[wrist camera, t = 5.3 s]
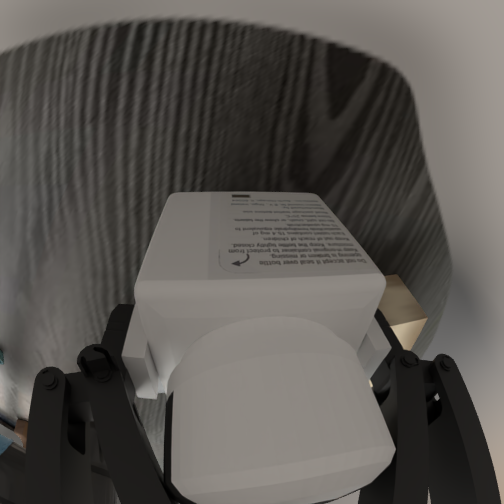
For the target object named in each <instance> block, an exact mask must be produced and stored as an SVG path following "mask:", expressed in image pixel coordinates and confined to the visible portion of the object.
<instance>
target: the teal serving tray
mask: <svg viewBox="0 0 504 504" xmlns="http://www.w3.org/2000/svg"><path fill="white" fill-rule="evenodd" d="M0 364H4V357H3V352H2V351H1V350H0Z"/></svg>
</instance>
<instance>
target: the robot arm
mask: <svg viewBox="0 0 504 504" xmlns="http://www.w3.org/2000/svg"><path fill="white" fill-rule="evenodd" d="M357 356H358V359H359V361H360V363H361V365H362V368H363V370H364V372H365V375H366V377H367V379H368V381H369V380H371V383H372V385H373V386H372V391H373V393H374V396H375V398H376V400H377V403H378V405H379V408H380V410H381V412H382V415H383V417H384V420H385V422H386V425H387V427H388V430H389V433H390V435H391V438H392V440H393V443H394V446H395V448H396V450H395V453H394V455H393V458H392V461H391V463H390V465H389V466H388V467H387V468H386V469H385V470H384V471H383V472H382V473H381V474H380V475H379V476H378V477H377V478H376V479H375V480H374V481H373V482H372V483H371V484H370V485H368V486H366V487H364V488H362V489H360V495H359V500H358V504H427V500H428V487H429V493H430V499H431V504H501V500H500V494H499V489H498V484H497V480H496V475H495V471H494V467H493V463H492V459H491V456H490V452H489V449H488V445H487V442H486V439H485V436H484V433H483V430H482V427H481V424H480V421H479V418H478V416H477V413H476V410H475V407H474V405H473V402H472V400H471V397H470V395H469V392H468V390H467V388H466V385H465V383H464V381H463V378H462V376H461V374H460V372H459V369H458V367H457V365H456V363H455V361H454V360H453V359H452V358H451V357H450V356H448V355H445V354H439V355H437V356H436V358H435V359H434V360H433V361H427V360H420V359H419V358H418V356H417V355H416V354H415V353H413V352H412V351H409V350H404V348H403V347H402V345H401V343H400V342H399V340H398V338H397V336H396V335H395V333H394V331H393V330H392V328H391V327H390V325H389V323H388V321H386V318H385V316H384V315H383V313H382V311H380V310H379V309H378V308H377V310H376V312H375V314H374V317H373V319H372V321H371V324H370V326H369V328H368V330H367V332H366V335H365V337H364V339H363V341H362V343H361V345H360V347H359V349H358V351H357ZM77 364H78V366H79V368H80V370H81V372H77V373H69V374H64V373H63V372H62V371H61V370H60V369H59V368H56V367H46V368H44V369H42V370H41V371H40V372H39V373H38V374H37V376H36V379H35V383H34V388H33V393H32V399H31V405H30V412H29V420H28V429H27V439H26V448H24V447H22V446H20V445H18V444H17V443H15V442H13V440H12V439H8V438H6V437H5V436H3V435H1V434H0V504H117V495H118V497H119V500H120V502H121V504H178V502H176V501H174V500H173V499H172V498H171V496H170V495H169V493H168V492H167V490H166V489H165V487H164V474H163V472H162V470H161V468H160V466H159V464H158V461H157V459H156V457H155V454H154V452H153V450H152V447H151V445H150V442H149V440H148V437H147V435H146V432H145V430H144V427H143V424H142V422H141V419H140V416H139V413H138V410H137V407H136V405H135V403H134V397H135V392H136V394H137V396H138V397H139V398H149V399H157V391H158V381H159V374H158V371H157V369H156V366H155V363H154V360H153V357H152V354H151V351H150V348H149V345H148V342H147V339H146V335H145V332H144V329H143V326H142V322H141V319H140V315H139V312H138V308H137V304H136V303H135V305H129V304H118V305H117V306H116V308H115V309H114V310H113V311H112V312H111V315H110V318H109V321H108V324H107V327H106V331H105V333H104V336H103V339H102V342H101V344H92V345H90V346H87V347H85V348H84V349H83V350H82V351H81V352H80V354H79V355H78V358H77ZM437 393H438V395H439V398H440V399H439V400H438V401H437V400H436V399H435V398H434V396H435V395H436V394H437Z"/></svg>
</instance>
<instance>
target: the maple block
mask: <svg viewBox="0 0 504 504" xmlns="http://www.w3.org/2000/svg"><path fill="white" fill-rule="evenodd" d="M384 277H385V280H386V287H385V290H384V293H383V295H382V298H381V300H380V302H379V305H378V307H377V308H378V309H379V310H380V311H382V313H383V315H384V316H385V318H386V321H388V323H389V325H390V327H391V328H392V330H393V331H394V333H395V335H396V336H397V338H398V340H399V342H400V343H401V345H402V347H403V348H404V350H409V351H410V350H411V348H412V346H413V344H414V343H415V341H416V339H417V337H418V335H419V334H420V332H421V330H422V328H423V326H424V324H425V322H426V320H427V319H428V317H427V316H426V314H425V313H424V311H423V310H422V308H421V307H420V305H419V304H418V303H417V301H416V300H415V298H414V297H413V295H412V294H411V293H410V291H409V290H408V289H407V287H406V286H405V284H404V283H403V282H402V280H401V279H400V278H399V276H398V275H397V274H396V275H388V276H384ZM369 384H370V386H371V388H372V386H373V385H372V383H371V380H369Z"/></svg>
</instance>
